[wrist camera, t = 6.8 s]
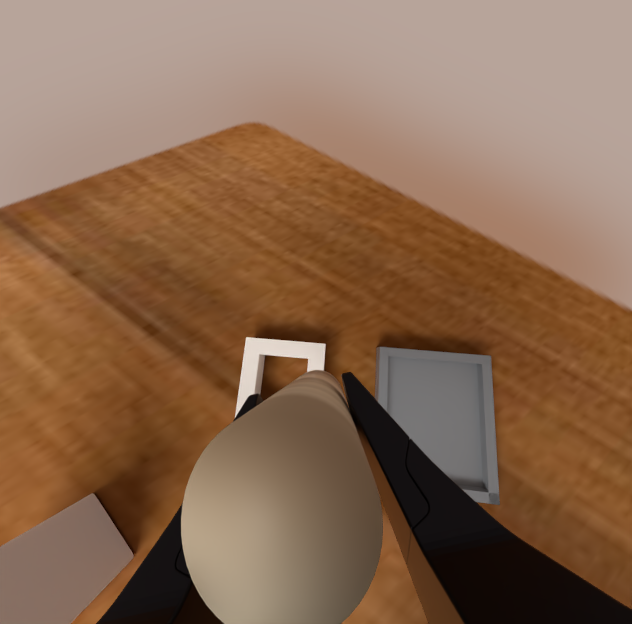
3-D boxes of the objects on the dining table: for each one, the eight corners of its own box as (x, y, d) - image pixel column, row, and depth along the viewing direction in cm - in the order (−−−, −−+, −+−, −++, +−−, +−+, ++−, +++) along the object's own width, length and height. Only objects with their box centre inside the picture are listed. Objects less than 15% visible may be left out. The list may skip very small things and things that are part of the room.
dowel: (337, 427, 15) (365, 679, 3) (287, 416, 15) (154, 607, 4) (346, 375, 16) (395, 431, 4) (298, 365, 16) (212, 390, 4)
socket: (319, 424, 22) (318, 431, 20) (242, 416, 22) (234, 422, 20) (325, 344, 23) (325, 343, 21) (253, 338, 24) (246, 337, 22)
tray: (486, 493, 20) (499, 504, 18) (372, 479, 20) (375, 489, 19) (479, 355, 22) (490, 355, 20) (376, 347, 23) (380, 346, 21)
